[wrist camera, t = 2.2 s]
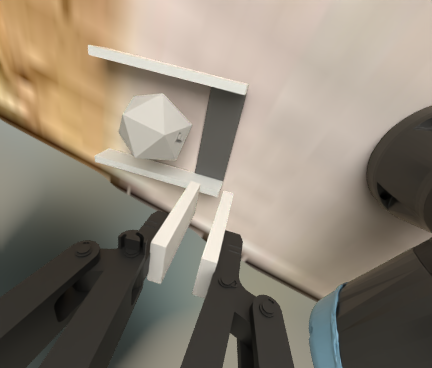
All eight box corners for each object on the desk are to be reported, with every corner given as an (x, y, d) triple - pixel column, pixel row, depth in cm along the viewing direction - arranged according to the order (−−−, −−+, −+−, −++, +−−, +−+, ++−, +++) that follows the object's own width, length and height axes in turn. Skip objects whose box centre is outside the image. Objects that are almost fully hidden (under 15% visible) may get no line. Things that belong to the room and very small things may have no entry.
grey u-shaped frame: (249, 84, 27) (247, 85, 24) (221, 186, 34) (217, 197, 31) (106, 47, 28) (87, 44, 25) (109, 153, 35) (95, 161, 32)
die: (163, 159, 35) (182, 180, 27) (106, 137, 30) (109, 154, 22) (185, 112, 34) (211, 118, 26) (129, 80, 29) (141, 77, 21)
